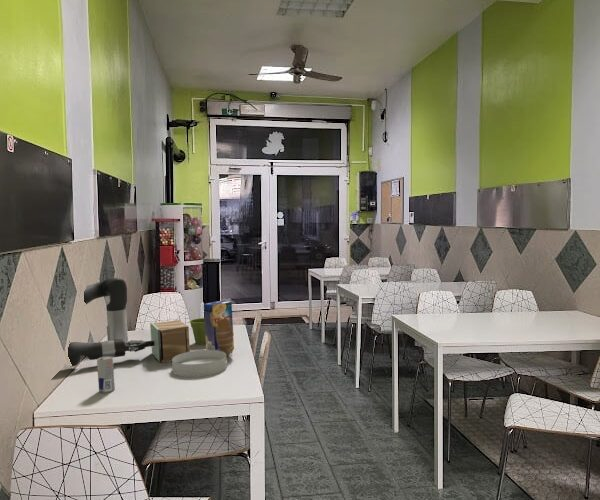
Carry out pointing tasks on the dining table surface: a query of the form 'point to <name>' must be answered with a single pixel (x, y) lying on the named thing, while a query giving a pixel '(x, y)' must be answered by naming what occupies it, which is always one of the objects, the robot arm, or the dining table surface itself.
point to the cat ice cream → (224, 335)
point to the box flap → (156, 341)
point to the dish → (199, 363)
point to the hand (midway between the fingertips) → (153, 343)
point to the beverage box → (215, 321)
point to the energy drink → (105, 374)
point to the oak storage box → (173, 339)
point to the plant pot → (198, 330)
